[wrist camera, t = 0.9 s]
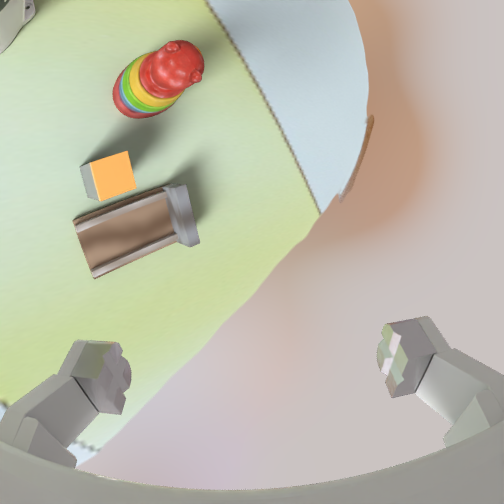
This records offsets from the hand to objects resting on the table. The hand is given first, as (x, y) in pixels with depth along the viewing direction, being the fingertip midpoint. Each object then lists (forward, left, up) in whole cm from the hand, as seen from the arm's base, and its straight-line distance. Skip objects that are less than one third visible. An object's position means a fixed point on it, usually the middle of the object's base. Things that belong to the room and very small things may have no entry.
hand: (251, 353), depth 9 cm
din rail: (+6, +9, -43) cm, 44 cm away
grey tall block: (-4, +6, -43) cm, 43 cm away
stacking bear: (-16, +16, -43) cm, 48 cm away
